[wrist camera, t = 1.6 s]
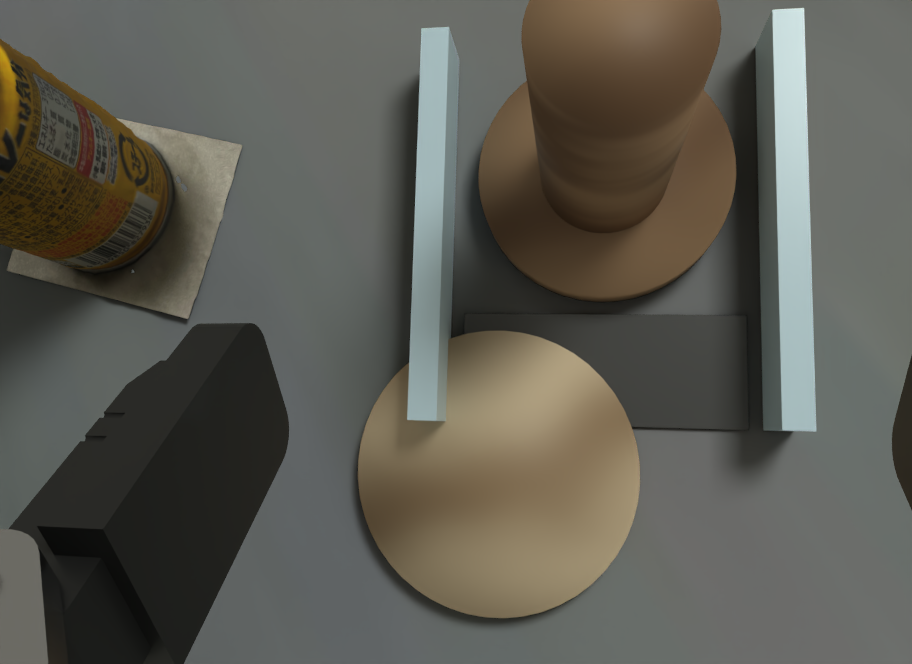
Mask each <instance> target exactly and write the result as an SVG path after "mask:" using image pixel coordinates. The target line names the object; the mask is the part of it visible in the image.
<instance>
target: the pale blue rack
mask: <svg viewBox="0 0 912 664" xmlns="http://www.w3.org/2000/svg"><path fill="white" fill-rule="evenodd" d="M755 51H756V100H757V149H758V198H759V247H760V296H761V344H762V393H763V431H816V406H815V371H814V337H813V302H812V268H811V233H810V199H809V164H808V130H807V95H806V60H805V26H804V8H796V9H777V10H772V12H771V14H770V16H769V18H768V20H767V22H766V25H765V27H764V29H763V31H762V33H761V35H760V38H759V40H758V42H757V44H756V46H755ZM458 91H459V57H458V54H457V51H456V48H455V45H454V41H453V38H452V35H451V32H450V29H449V27H440V28H422V30H421V57H420V85H419V112H418V139H417V166H416V193H415V221H414V248H413V275H412V302H411V330H410V357H409V384H408V411H407V420H416V421H446V399H447V366H448V339H451V323H452V290H453V257H454V224H455V190H456V157H457V124H458ZM482 331H511V332H520V333H525V334H529V335H533V336H537V337H541V338H543V339H546V340H548V341H551V342H553V343H556V344H558V345H560V346H561V347H563V348H565V349H567V350H569V351H570V352H572V353H574V354H575V355H577V356H578V357H579V358H581V359H582V360H583V361H585V362H586V363H587V364H589V365H590V366H591V367H592V368H593V369H594V370H595V371H596V372H597V373H598V374H599V375H600V376H601V377H602V378H603V379H604V381H605V382H606V383H607V384H608V386H609V387H610V388H611V389H612V391H613V392H614V393H615V395H616V397H617V398H618V400H619V402H620V403H621V405H622V407H623V408H624V411H625V413H626V415H627V417H628V420H629V422H630V424H631V427H656V428H692V429H727V430H749V419H748V364H747V315H624V314H465V319H464V335H465V334H468V333H475V332H482Z"/></svg>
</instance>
